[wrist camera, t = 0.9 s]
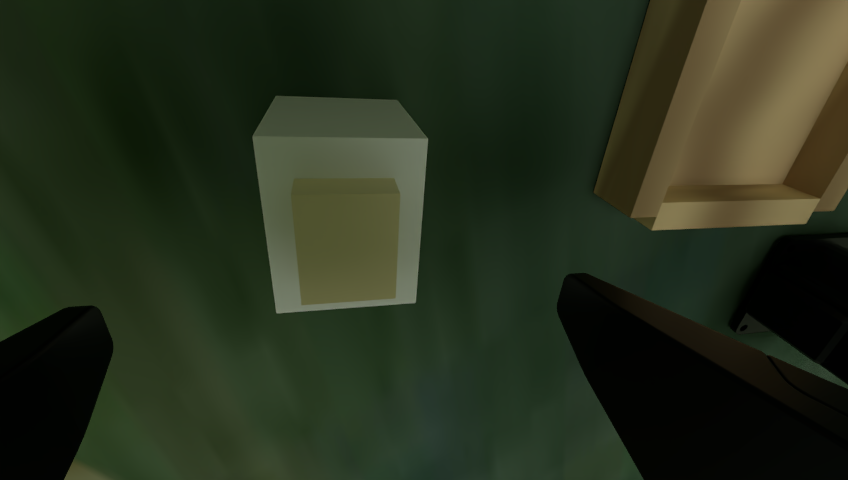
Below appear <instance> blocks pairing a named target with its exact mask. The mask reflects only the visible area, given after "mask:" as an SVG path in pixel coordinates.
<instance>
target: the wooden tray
mask: <svg viewBox="0 0 848 480" xmlns="http://www.w3.org/2000/svg"><path fill="white" fill-rule="evenodd" d="M847 189H848V0H650V3H649V6H648V9H647V13H646V16H645V20H644V23H643V26H642V30H641V33H640V37H639V40H638V43H637V47H636V50H635V53H634V57H633V60H632V64H631V67H630V70H629V74H628V77H627V81H626V84H625V87H624V91H623V94H622V98H621V101H620V104H619V108H618V111H617V114H616V118H615V121H614V125H613V128H612V131H611V135H610V138H609V142H608V145H607V148H606V152H605V155H604V158H603V162H602V165H601V169H600V172H599V175H598V179H597V182H596V186H595V189H594V192H593V193H595V194H596V195H598V196H599V197H600V198H602V199H603V200H605V201H606V202H608V203H609V204H611V205H612V206H614V207H615V208H617V209H618V210H620V211H621V212H622V213H624V214H625V215H627V216H628V217H630V218H634V219H635V220H637V221H638V222H640V223H641V224H643V225H644V226H646V227H647V228H649V229H650V230H674V229H698V228H721V227H744V226H768V225H791V224H806V223H807V221H808V219H809V218H810V216H811V214H812V213H813V212H814V211H834V210H835V208H836V207H837V205H838V203H839V202H840V200H841V199H842V197H843V195H844V194H845V192H846V191H847Z"/></svg>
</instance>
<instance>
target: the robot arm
mask: <svg viewBox="0 0 848 480" xmlns="http://www.w3.org/2000/svg"><path fill="white" fill-rule="evenodd" d="M557 312H558V315H559V318H560V320H561V322H562V325H563V327H564V329H565V332H566V334H567V336H568V338H569V341H570V343H571V345H572V348H573V350H574V352H575V354H576V357H577V359H578V361H579V364H580V366H581V368H582V370H583V372H584V374H585V376H586V378H587V380H588V382H589V383H590V385H591V387H592V389H593V391H594V392H595V394H596V396H597V398H598V399H599V401H600V403H601V405H602V407H603V408H604V410H605V412H606V414H607V415H608V417H609V419H610V421H611V422H612V424H613V426H614V428H615V430H616V431H617V433H618V435H619V437H620V438H621V440H622V442H623V444H624V445H625V447H626V449H627V451H628V453H629V454H630V456H631V458H632V460H633V461H634V463H635V465H636V467H637V469H638V470H639V472H640V474H641V476H642V477H643V479H644V480H848V389H847V388H844V387H842V386H839V385H837V384H834V383H832V382H830V381H827V380H825V379H823V378H820V377H818V376H816V375H814V374H811V373H809V372H807V371H804V370H802V369H800V368H797V367H795V366H793V365H791V364H788V363H786V362H784V361H782V360H779V359H777V358H775V357H773V356H770V355H767V356H766V355H765V353H763V352H761V351H759V350H757V349H755V348H752V347H750V346H748V345H746V344H743V343H741V342H739V341H737V340H734V339H732V338H730V337H728V336H725V335H723V334H721V333H719V332H717V331H714V330H712V329H710V328H708V327H705V326H703V325H701V324H699V323H696V322H694V321H692V320H690V319H687V318H685V317H683V316H681V315H678V314H676V313H674V312H672V311H670V310H667V309H665V308H663V307H661V306H658V305H656V304H654V303H652V302H649V301H647V300H645V299H643V298H640V297H638V296H636V295H634V294H631V293H629V292H627V291H625V290H623V289H620V288H618V287H616V286H614V285H611V284H609V283H607V282H605V281H602V280H600V279H598V278H596V277H593V276H591V275H589V274H586V273H575V274H568V275H567V276H566V277H565V278H564V281H563V285H562V288H561V292H560V295H559V299H558V302H557ZM730 328H731V329H732V330H733V331H734V332H736V333H737V334H748V333H756V332H765V331H772V332H773V333H775V334H776V335H777V336H779V337H780V338H782V339H783V340H784V341H786V342H787V343H788V344H790V345H791V346H793V347H794V348H795V349H797V350H798V351H800V352H801V353H802V354H804V355H805V356H806V357H808V358H809V359H811V360H812V361H813V362H815V363H818V364H820V365H821V366H822V367H824V368H825V369H827V370H828V371H829V372H831V373H832V374H834V375H835V376H836V377H838V378H839V379H840V380H842V381H843V382H845V383H846V384H847V385H848V234H830V235H810V236H791V237H785V238H783V239H782V240H781V241H779V242H778V244H777V245H776V247H775V249H774V250H773V252H772V254H771V256H770V257H769V259H768V261H767V263H766V264H765V266H764V268H763V270H762V271H761V273H760V275H759V277H758V278H757V280H756V282H755V284H754V285H753V287H752V289H751V291H750V292H749V294H748V296H747V298H746V299H745V301H744V303H743V305H742V306H741V308H740V310H739V312H738V313H737V315H736V317H735V319H734V320H733V322H732V324H731V326H730ZM112 354H113V341H112V338H111V335H110V333H109V330H108V328H107V325H106V323H105V321H104V318H103V316H102V313H101V311H100V310H99V309H98V308H97V307H95V306H75V307H67V308H64V309H62V310H60V311H58V312H56V313H54V314H52V315H50V316H49V317H47V318H45V319H43V320H41V321H39V322H37V323H35V324H33V325H31V326H30V327H28V328H26V329H24V330H22V331H20V332H18V333H16V334H14V335H12V336H10V337H9V338H7V339H5V340H3V341H1V342H0V480H64V478H65V476H66V474H67V472H68V470H69V468H70V466H71V464H72V462H73V459H74V457H75V455H76V453H77V451H78V449H79V446H80V444H81V442H82V440H83V437H84V435H85V432H86V430H87V427H88V424H89V422H90V419H91V416H92V413H93V410H94V407H95V404H96V401H97V398H98V395H99V392H100V389H101V387H102V384H103V381H104V378H105V375H106V372H107V369H108V366H109V363H110V360H111V357H112Z"/></svg>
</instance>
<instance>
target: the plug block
mask: <svg viewBox="0 0 848 480" xmlns="http://www.w3.org/2000/svg"><path fill="white" fill-rule="evenodd" d="M252 138H253V145H254V153H255V160H256V167H257V175H258V182H259V189H260V197H261V204H262V211H263V218H264V226H265V233H266V240H267V248H268V255H269V262H270V270H271V277H272V284H273V292H274V299H275V306H276V313H289V312H302V311H316V310H329V309H342V308H355V307H368V306H381V305H395V304H408V303H416V293H417V280H418V266H419V253H420V240H421V227H422V213H423V200H424V187H425V173H426V160H427V147H428V138H427V137H426V135H425V134H424V133H423V132H422V130H421V129H420V128H419V127H418V125H417V124H416V123H415V122H414V120H413V119H412V118H411V117H410V115H409V114H408V113H407V112H406V110H405V109H404V108H403V106H402V105H401V104H400V103H399V101H398V100H385V99H355V98H326V97H297V96H275V98H274V100H273V102H272V103H271V105H270V107H269V108H268V110H267V112H266V114H265V115H264V117H263V119H262V120H261V122H260V124H259V126H258V127H257V129H256V131H255V132H254V134H253V136H252Z"/></svg>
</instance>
